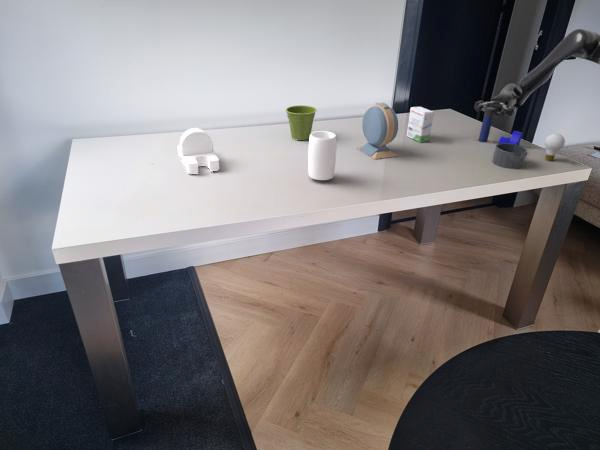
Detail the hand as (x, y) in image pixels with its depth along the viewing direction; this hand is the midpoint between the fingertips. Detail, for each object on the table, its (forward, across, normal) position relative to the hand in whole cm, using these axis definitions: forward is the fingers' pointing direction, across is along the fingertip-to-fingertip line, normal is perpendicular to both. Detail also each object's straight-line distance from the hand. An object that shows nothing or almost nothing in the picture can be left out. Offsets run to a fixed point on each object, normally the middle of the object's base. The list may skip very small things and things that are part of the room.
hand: (489, 111), depth 161 cm
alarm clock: (+36, -26, +12) cm, 46 cm away
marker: (-1, 0, +12) cm, 12 cm away
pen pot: (+17, +14, +12) cm, 25 cm away
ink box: (+12, -21, +12) cm, 27 cm away
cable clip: (+2, +9, +12) cm, 16 cm away
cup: (+68, -28, +12) cm, 75 cm away
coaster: (-1, 0, +12) cm, 12 cm away
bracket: (+85, -67, +12) cm, 109 cm away
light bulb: (+4, +25, +12) cm, 28 cm away
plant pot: (+42, -57, +12) cm, 72 cm away
